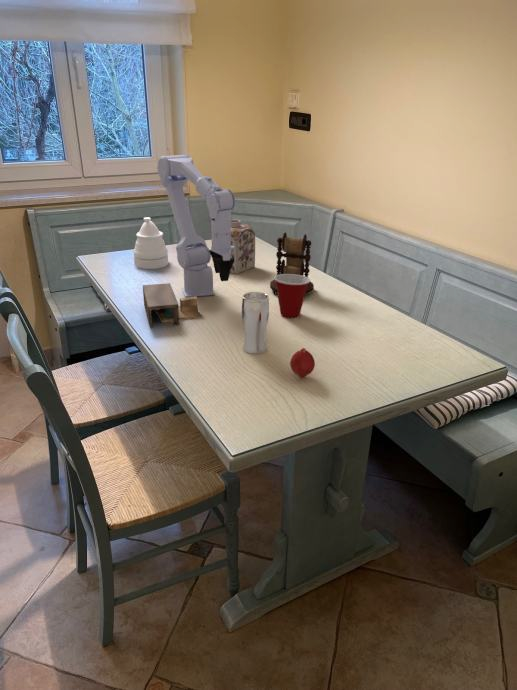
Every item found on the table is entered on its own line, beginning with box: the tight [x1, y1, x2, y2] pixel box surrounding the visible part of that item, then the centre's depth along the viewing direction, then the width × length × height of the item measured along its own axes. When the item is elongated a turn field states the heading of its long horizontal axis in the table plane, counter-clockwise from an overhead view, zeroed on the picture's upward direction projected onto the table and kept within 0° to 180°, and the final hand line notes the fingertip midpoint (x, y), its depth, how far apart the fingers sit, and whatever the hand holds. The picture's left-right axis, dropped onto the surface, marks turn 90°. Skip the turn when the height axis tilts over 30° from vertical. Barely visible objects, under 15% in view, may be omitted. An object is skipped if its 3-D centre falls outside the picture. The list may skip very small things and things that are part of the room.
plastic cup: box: [273, 274, 311, 319], centre depth 158 cm, size 11×11×12 cm
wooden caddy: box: [142, 282, 180, 329], centre depth 157 cm, size 8×18×6 cm, turn 16°
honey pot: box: [133, 216, 169, 270], centre depth 199 cm, size 13×13×18 cm
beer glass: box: [241, 291, 270, 355], centre depth 136 cm, size 7×7×15 cm
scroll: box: [269, 231, 315, 296], centre depth 175 cm, size 15×15×20 cm
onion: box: [289, 347, 316, 379], centre depth 125 cm, size 6×6×8 cm
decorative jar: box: [230, 219, 256, 275], centre depth 197 cm, size 12×12×18 cm
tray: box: [154, 296, 202, 323], centre depth 159 cm, size 12×9×5 cm
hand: (221, 276), depth 161 cm, fingers open, 7 cm apart
